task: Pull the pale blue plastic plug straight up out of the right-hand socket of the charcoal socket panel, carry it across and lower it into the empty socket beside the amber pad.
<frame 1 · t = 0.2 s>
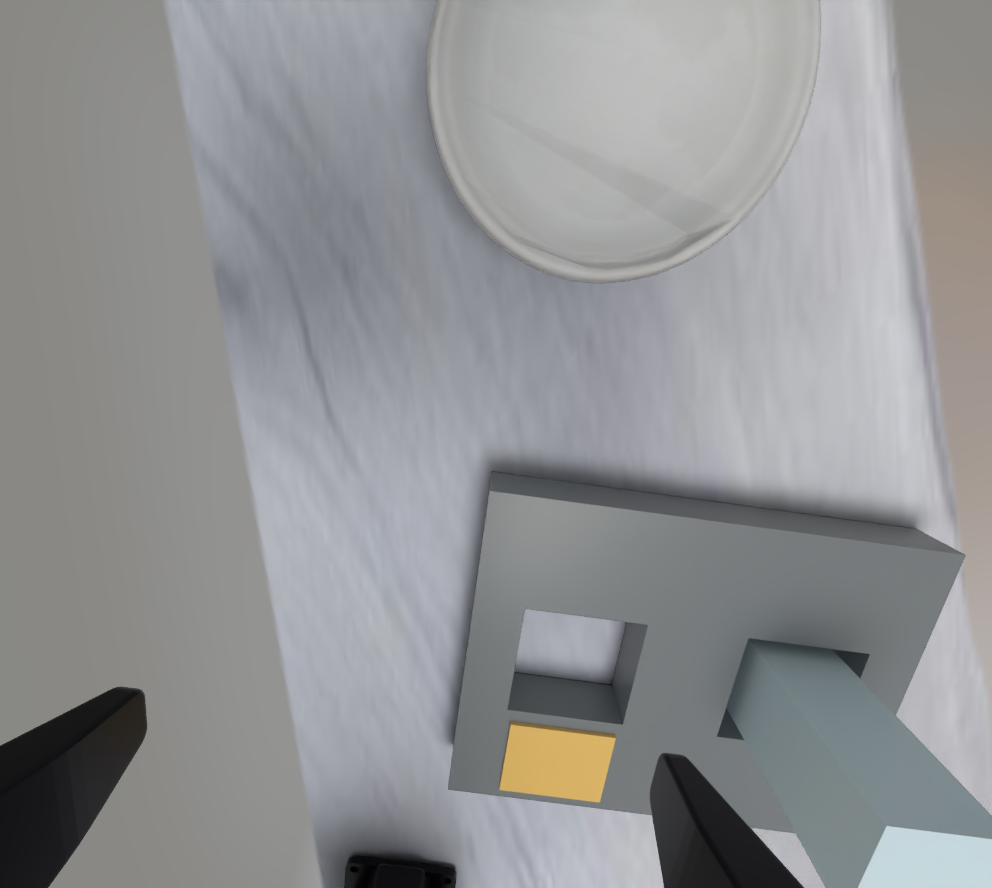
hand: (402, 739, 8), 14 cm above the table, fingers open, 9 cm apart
socket panel: (666, 646, 25), on the table
ramekin: (589, 139, 19), on the table
plug: (762, 658, 25), resting in socket panel
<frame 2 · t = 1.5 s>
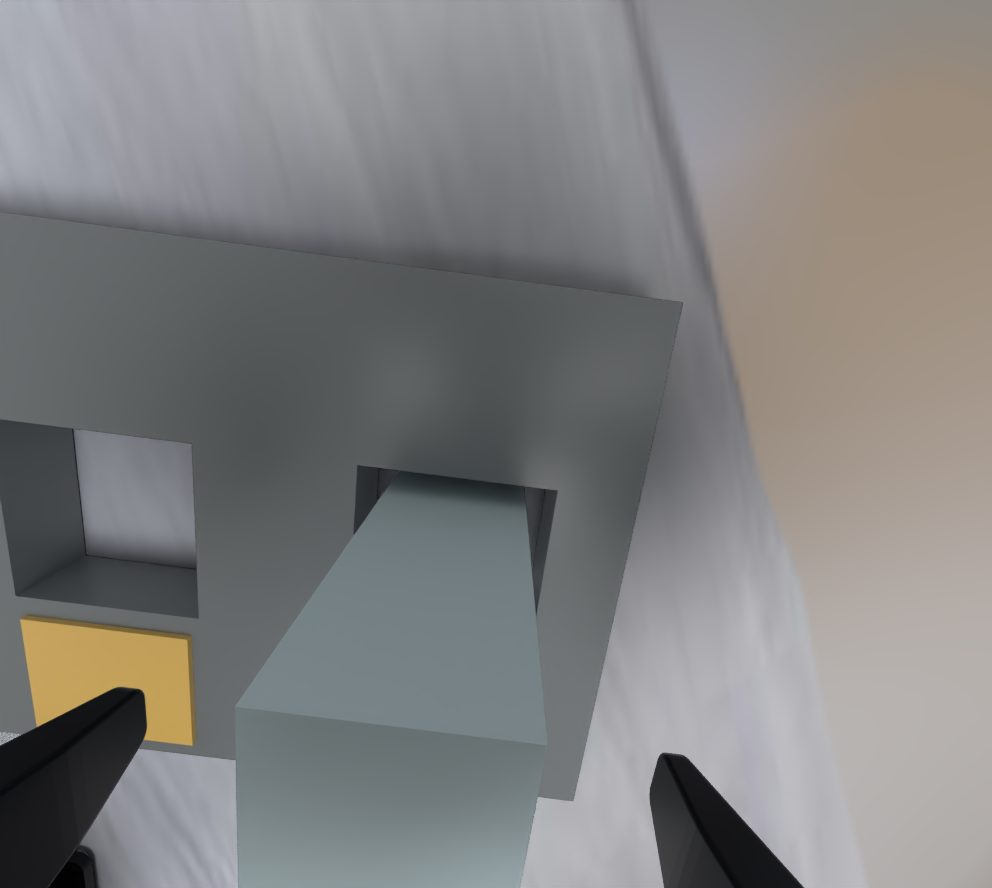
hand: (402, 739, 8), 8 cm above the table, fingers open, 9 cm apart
socket panel: (308, 511, 16), on the table
plug: (456, 529, 16), resting in socket panel
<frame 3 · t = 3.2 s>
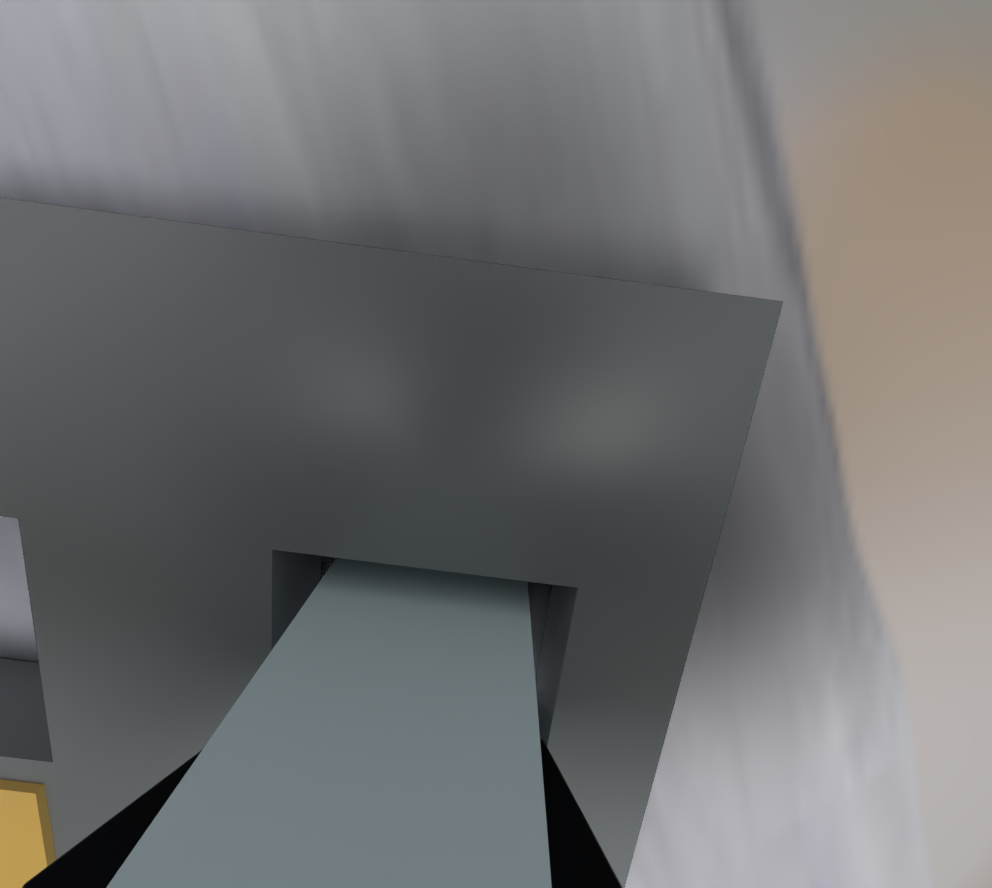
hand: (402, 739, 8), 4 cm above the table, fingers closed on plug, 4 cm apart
socket panel: (227, 591, 12), on the table
plug: (432, 616, 12), resting in socket panel, touching gripper
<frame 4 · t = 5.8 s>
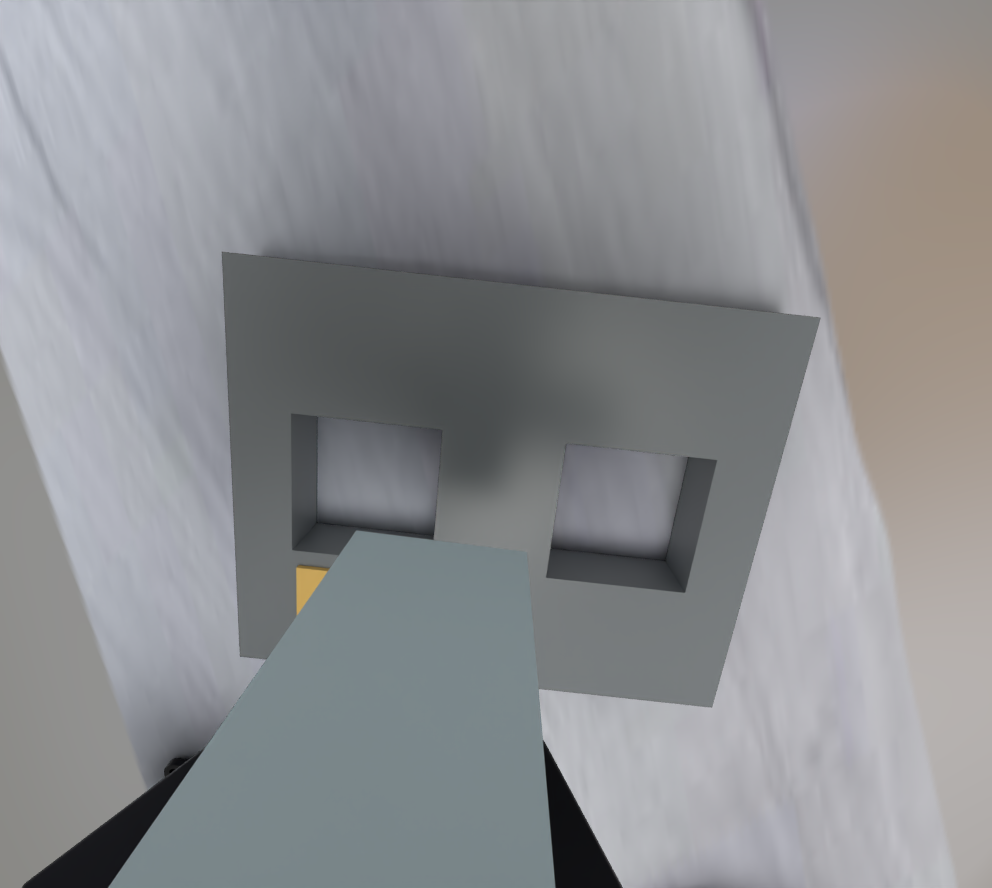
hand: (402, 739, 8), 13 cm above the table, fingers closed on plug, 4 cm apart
socket panel: (497, 483, 21), on the table
plug: (433, 615, 12), point 9 cm above the table, touching gripper
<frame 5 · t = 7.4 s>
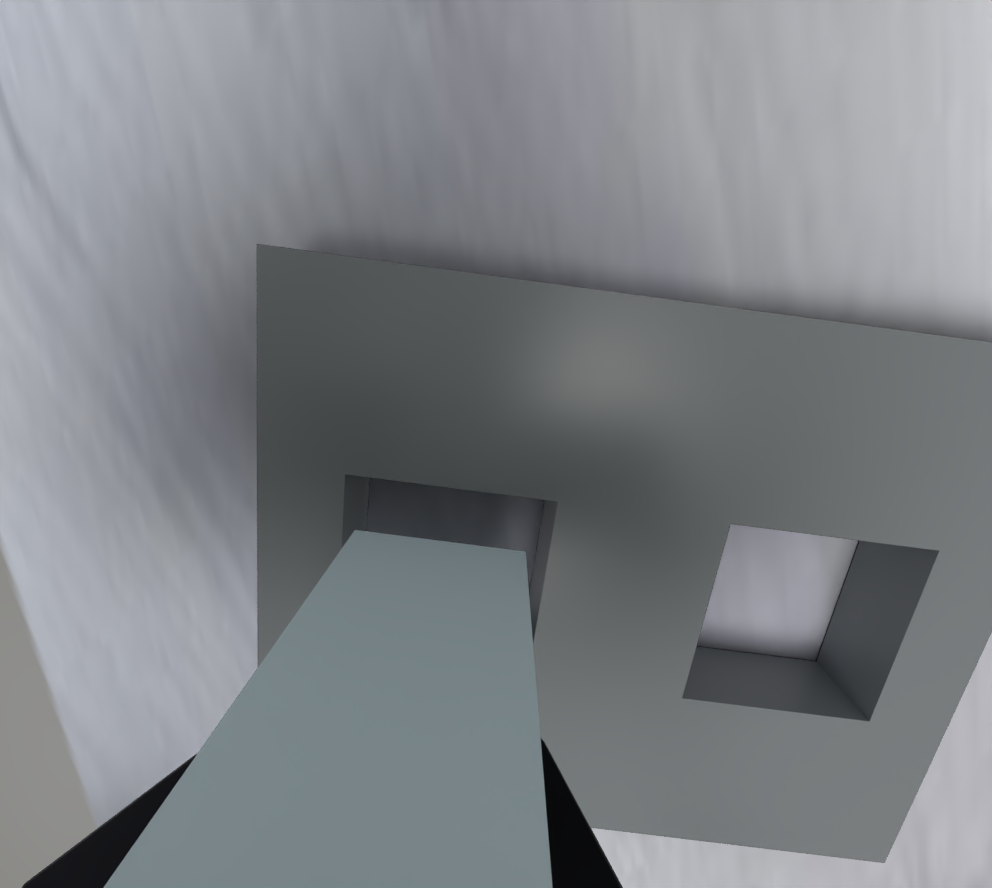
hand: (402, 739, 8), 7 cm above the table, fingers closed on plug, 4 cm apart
socket panel: (605, 560, 16), on the table
plug: (432, 615, 12), point 4 cm above the table, touching gripper
when the fingers open (5 cm above the table, at t = 8.8 s): plug stays where it is, resting in socket panel.
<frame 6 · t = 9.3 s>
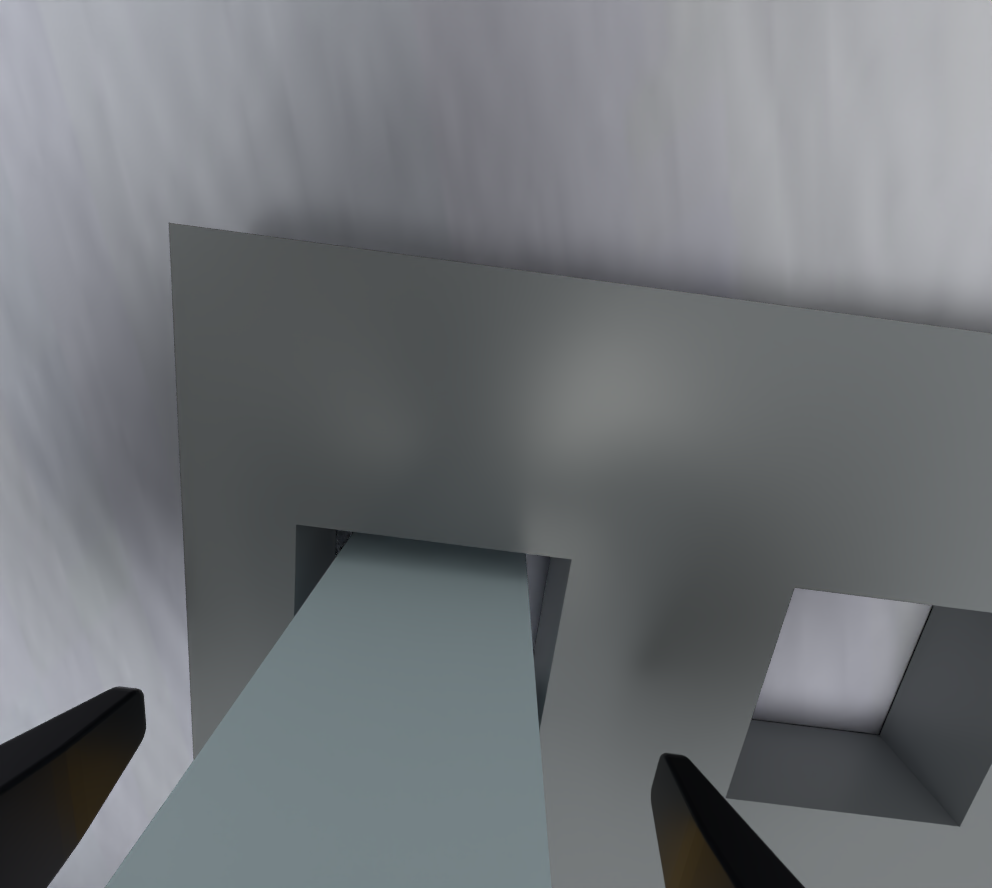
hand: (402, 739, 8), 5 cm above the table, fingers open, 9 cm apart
socket panel: (626, 616, 13), on the table
plug: (438, 592, 13), resting in socket panel
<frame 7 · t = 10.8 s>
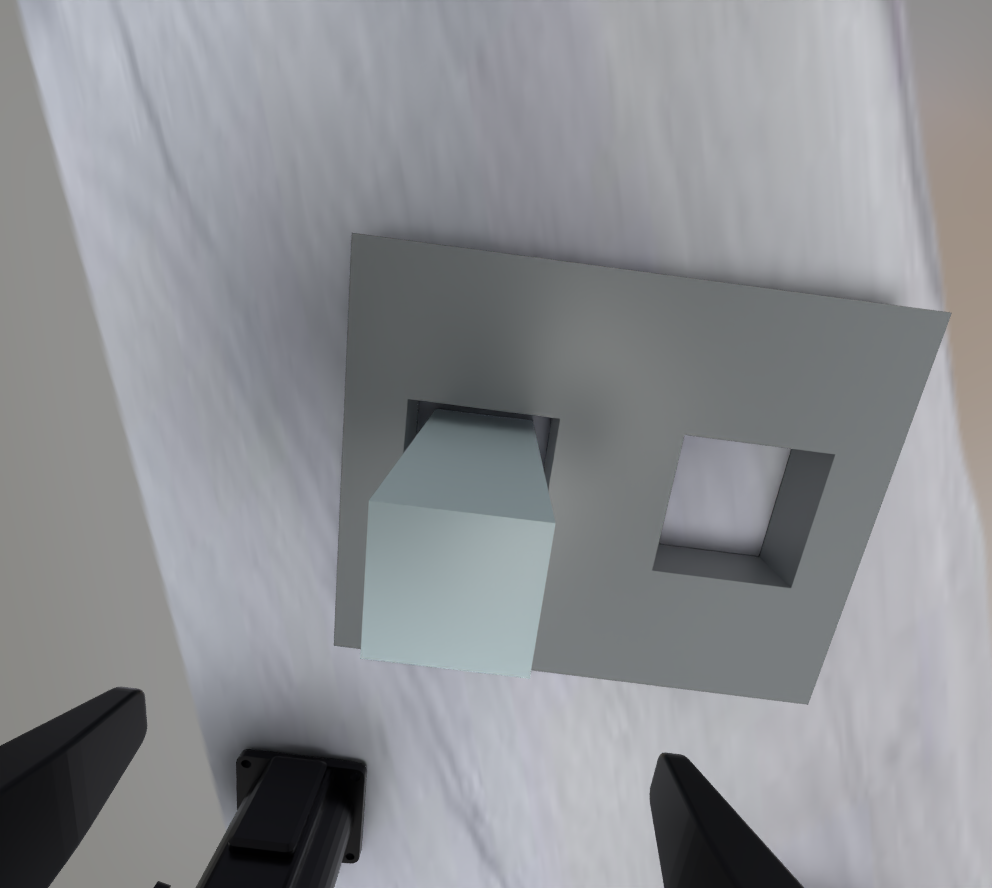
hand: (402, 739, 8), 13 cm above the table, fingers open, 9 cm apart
socket panel: (596, 475, 20), on the table
plug: (479, 460, 20), resting in socket panel
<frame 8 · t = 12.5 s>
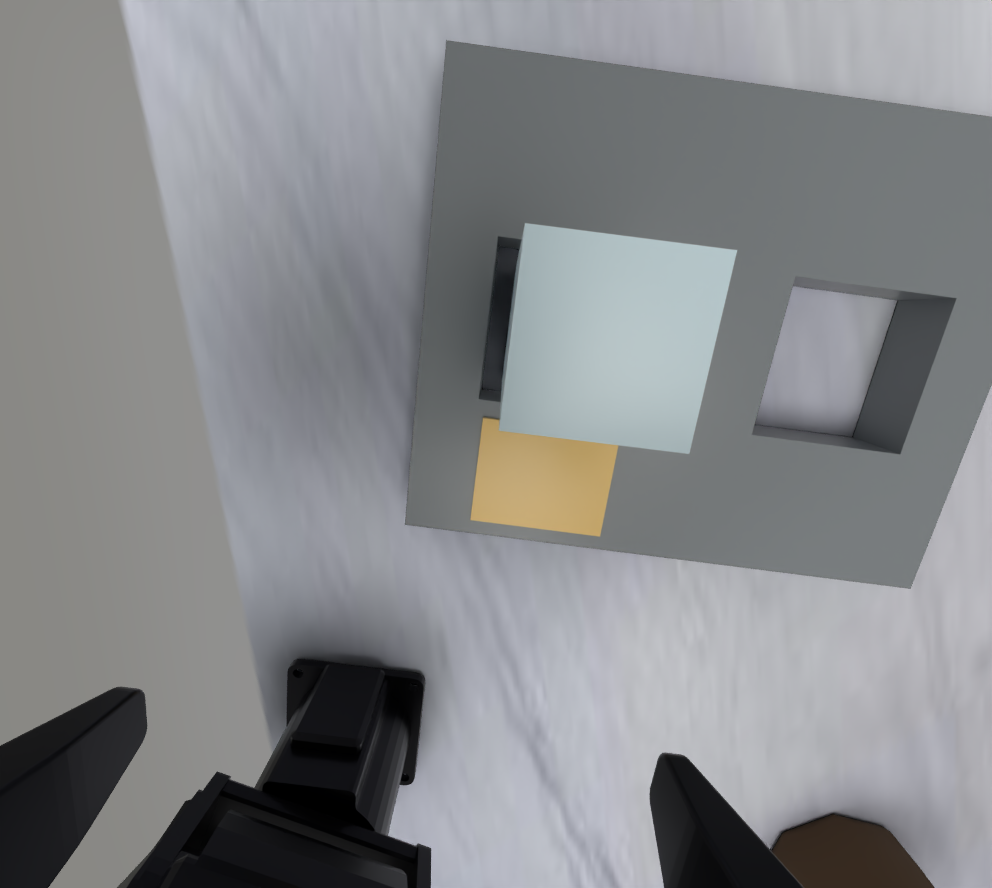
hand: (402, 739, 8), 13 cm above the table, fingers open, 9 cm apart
socket panel: (683, 346, 19), on the table
beer bottle: (826, 860, 26), on the table
plug: (558, 329, 19), resting in socket panel
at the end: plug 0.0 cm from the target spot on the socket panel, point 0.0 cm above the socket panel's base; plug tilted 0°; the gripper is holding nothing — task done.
